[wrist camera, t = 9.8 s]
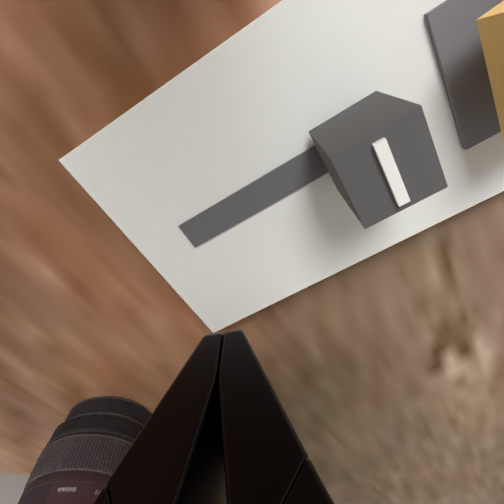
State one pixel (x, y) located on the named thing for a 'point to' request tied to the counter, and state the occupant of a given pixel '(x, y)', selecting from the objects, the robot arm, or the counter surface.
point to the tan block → (494, 54)
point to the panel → (290, 147)
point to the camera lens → (85, 451)
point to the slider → (380, 156)
